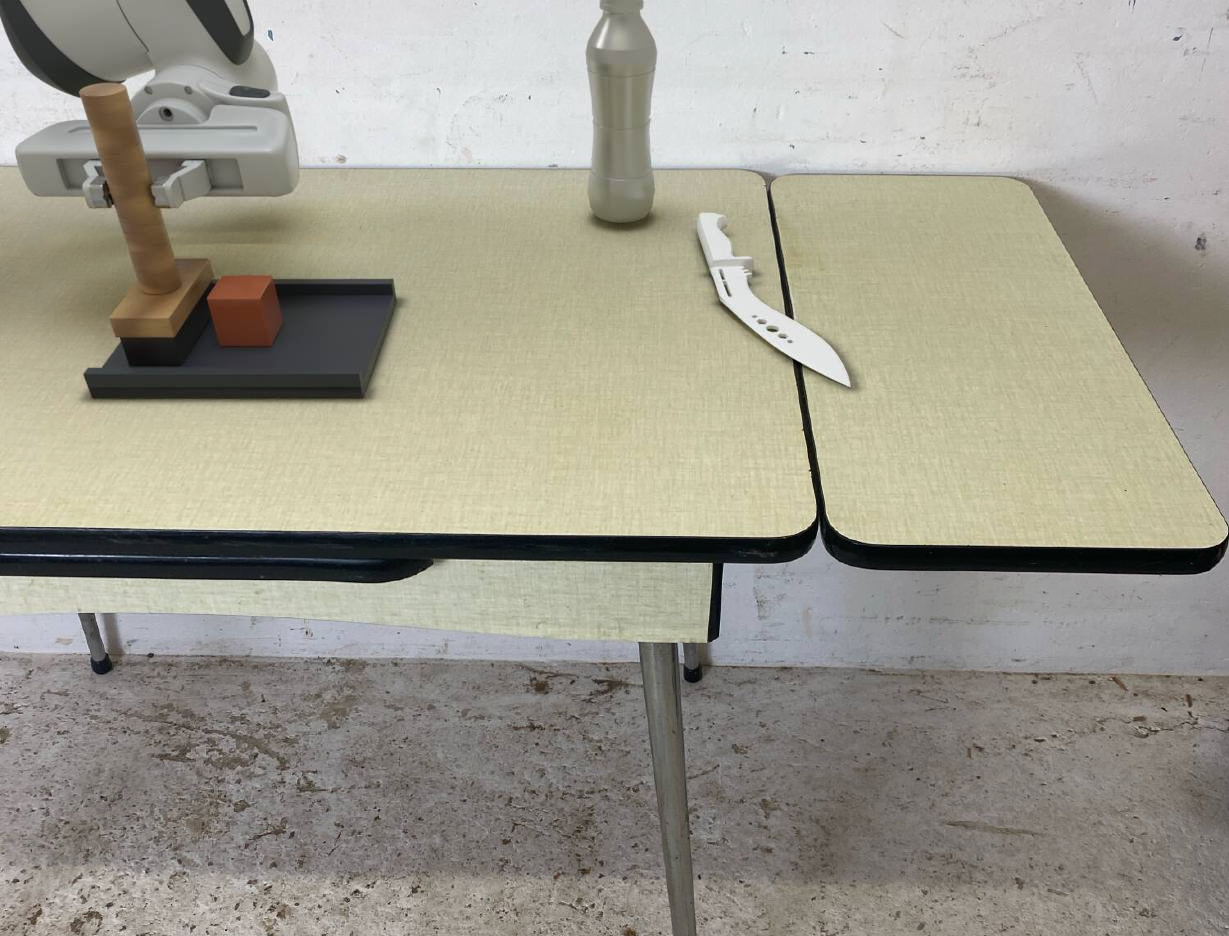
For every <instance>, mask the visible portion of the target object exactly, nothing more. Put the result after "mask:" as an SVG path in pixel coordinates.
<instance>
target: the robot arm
mask: <svg viewBox="0 0 1229 936" xmlns="http://www.w3.org/2000/svg"><path fill="white" fill-rule="evenodd" d="M253 19H254V18H253V16H252V12H251V8H250V6H249V3H248V1H247V0H0V21H1V24H2V27H3V30H4V33H5V35H6V37H7V39H8V41H9V44H10V46H11V48H12V50H13V51H14V53H15V55H16V56H17V58H18V59H19V61H20V62H21V64H22V65H23V66H24V68H25V69H26V70H27V71H28V72H29V73H30V74H31V75H33V76H34V77H35V78H36V79H38V80H39V81H41V82H42V83H44V84H46V85H48V86H49V87H51V88H53V89H56V90H58V91H60V92H62V93H65V94H67V95H69V96H73V97H76V98H78V99H81V97H80V94H79V91H80V90H81V89H82V88H84V87H86V86H90V85H94V84H100V83H119V84H123V83H125V81H127V80H128V79H131V78H135V77H137V76H140V75H144V74H146V73H148V72H151V71H154V76H153V77H152V78H151V79H149V80H148V81H147V83H145V84H144V85H143V86H142V87H140V88H139V90H138V91H136V92H135V93H134V94H133V96H132V97H131V99H130V102H131V106H132V109H133V113H134V116H135V120H136V123H137V127H138V131H139V134H140V138H141V141H142V145H143V148H144V152H145V155H146V159H147V162H148V166H149V169H150V173H151V176H152V180H153V182H152V184H151V191H152V195H153V196H154V197H155V200H154V202H155V205H156V207H157V208H161V209H170V210H172V209H179V208H180V207H181V206H182V204H184V202H188V201H192V200H195V199H197V198H204V197H205V198H207V197H209V198H213V197H214V198H217V197H218V198H220V197H225V198H227V197H229V198H230V197H231V198H232V197H233V198H234V197H237V198H239V197H241V198H242V197H243V198H244V197H247V198H249V197H250V198H251V197H252V198H253V197H254V198H255V197H257V198H258V197H260V198H262V197H263V198H265V197H268V198H276V197H278V198H279V197H283V196H286V195H289V194H292V193H293V192H294V191H295V190H296V189H297V187H298V185H299V184H300V183H299V182H300V179H301V169H300V157H299V148H298V141H297V135H296V131H295V126H294V121H293V118H292V113H291V111H290V107H289V104H288V101H287V97H286V95H285V94H284V93H282V92H280V91H279V83H278V77H277V72H276V69H275V66H274V64H273V61H272V60H271V58H270V56H269V54H268V53H267V51H266V50H265V48H264V47H263V46H262V45H261V44H260V43H259V42H258V41H257V40H256V39H255V24H254V20H253ZM14 155H15V159H16V163H17V166H18V169H19V172H20V175H21V177H22V180H23V182H24V184H25V186H26V188H27V189H28V190H29V191H30V193H32V195H34V196H35V197H39V198H51V197H52V198H56V197H57V198H67V197H68V198H69V197H71V198H72V197H73V198H75V197H76V198H79V197H80V198H82V197H83V198H84V199H85V202H86V205H87V207H88V209H112V208H113V206H114V203H113V200H112V196H111V193H110V190H109V187H108V184H107V180H106V177H105V174H104V171H103V167H102V164H101V161H100V158H99V155H98V151H97V148H96V145H95V142H94V139H93V135H92V132H91V129H90V126H89V123H88V119H73V120H65V121H60V122H55V123H53V124H51V125H48V126H46V127H44V128H42V129H41V130H38V131H37V132H35V133H34V134H32V135H30V136H28V137H27V138H25V139H24V140H22V141H21V142H19V143H18V144H17V145H16V146H15V149H14Z"/></svg>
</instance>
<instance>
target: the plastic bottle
mask: <svg viewBox="0 0 1229 936" xmlns="http://www.w3.org/2000/svg"><path fill="white" fill-rule="evenodd" d="M644 3H645V2H644V0H599V9H600V10H602V16H601V17H600V18H599V20H598V22H597V23H596V25H595V26H594V28H593V30H592V32H591V34H590V36H589V38H588V40H587V43H586V48H585V63H586V64H585V65H586V69H587V77H588V78H587V79H588V84H589V92H590V101H591V114H592V131H593V132H592V146H591V147H592V148H591V163H590V164H591V165H590V169H589V175H588V182H587V196H588V202H589V206H590V207H589V208H590V209H591V210H592V212H593V213H594V215H595V216H596V217H597V219H600V220H602V221H605V222H610V223H619V224H622V223H623V224H624V223H632V222H636V221H639V220H640V221H641V220H642V219H644V218H645V217H646V216H648V214H649V212H650V211H651V209H652V208H653V204H654V199H655V194H656V185H655V176H654V175H655V174H654V170H653V167H652V154H651V152H652V151H651V150H652V149H651V135H650V133H651V132H650V127H651V126H650V125H651V118H650V117H651V112H652V110H651V109H652V96H653V89H654V81H655V75H656V68H657V66H656V65H657V63H658V62H657V61H658V49H657V44H656V41H655V38H654V36H653V35H652V32H651V30H650V28H649V27H648V25H647V24H646V21H645V20H644V18H643V17H642V14H641V10H643V9H644Z"/></svg>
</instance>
